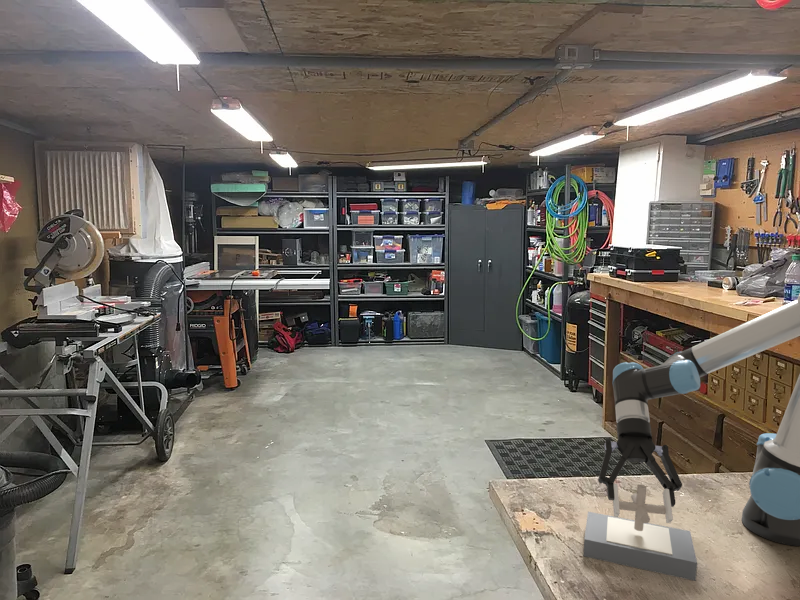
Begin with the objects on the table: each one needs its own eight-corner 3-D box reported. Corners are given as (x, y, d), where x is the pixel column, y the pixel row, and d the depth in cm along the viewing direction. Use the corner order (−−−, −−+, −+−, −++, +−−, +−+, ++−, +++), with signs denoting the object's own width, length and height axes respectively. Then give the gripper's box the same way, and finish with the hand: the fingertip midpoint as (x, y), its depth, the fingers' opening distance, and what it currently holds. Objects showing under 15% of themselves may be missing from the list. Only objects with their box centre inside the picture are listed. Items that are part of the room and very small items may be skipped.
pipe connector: (668, 544, 117) (672, 499, 116) (619, 538, 119) (622, 494, 118) (657, 520, 127) (660, 478, 125) (611, 514, 129) (613, 474, 127)
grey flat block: (688, 547, 125) (690, 530, 125) (695, 580, 114) (697, 561, 113) (587, 527, 134) (588, 510, 133) (583, 556, 122) (584, 538, 121)
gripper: (679, 434, 133) (694, 529, 120) (582, 426, 138) (586, 517, 125) (688, 420, 127) (705, 519, 114) (585, 412, 132) (590, 506, 119)
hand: (643, 518), depth 119 cm, fingers closed on pipe connector, 10 cm apart
